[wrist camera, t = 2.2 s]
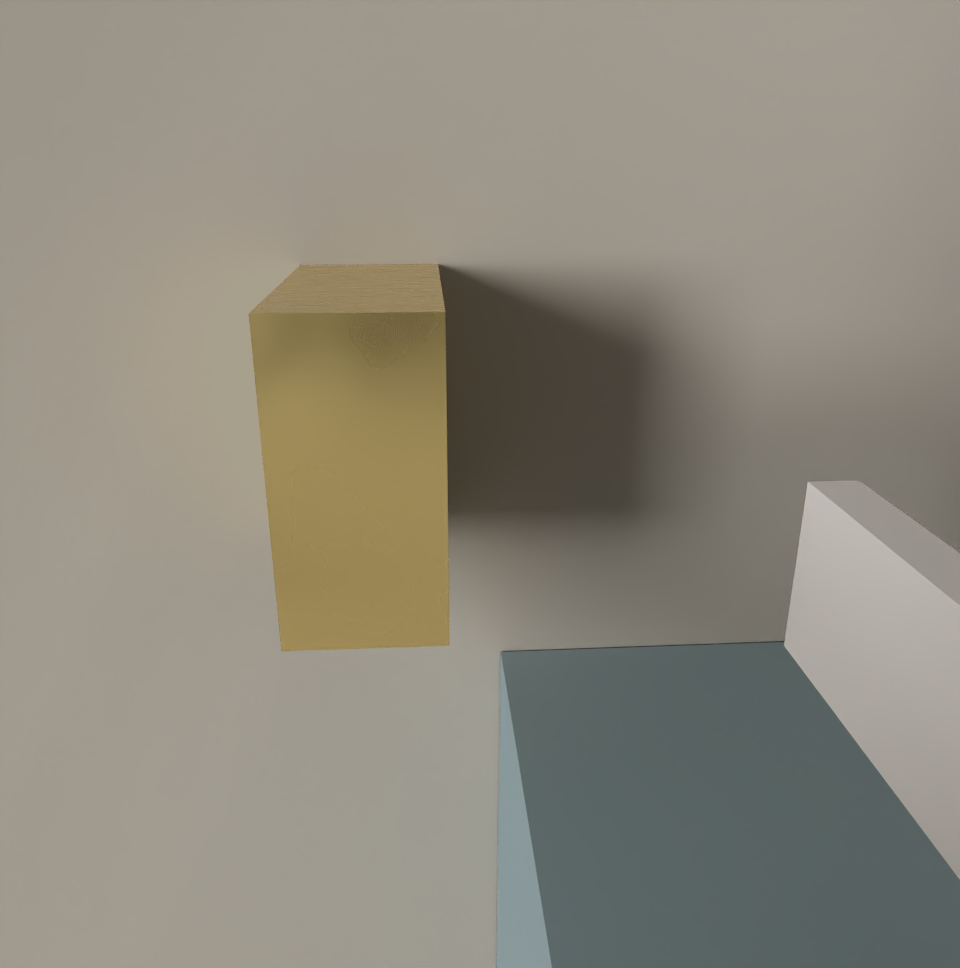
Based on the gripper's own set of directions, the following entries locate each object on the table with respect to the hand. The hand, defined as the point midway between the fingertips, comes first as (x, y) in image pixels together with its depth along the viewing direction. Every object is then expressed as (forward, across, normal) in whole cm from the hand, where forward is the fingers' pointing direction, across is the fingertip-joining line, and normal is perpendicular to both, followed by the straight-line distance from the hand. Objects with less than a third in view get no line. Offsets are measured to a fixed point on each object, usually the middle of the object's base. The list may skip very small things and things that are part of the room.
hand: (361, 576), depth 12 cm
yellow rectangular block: (+8, 0, +1) cm, 8 cm away
